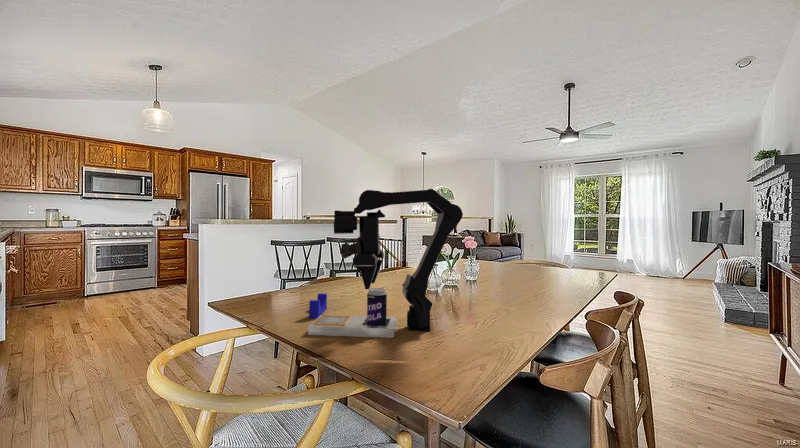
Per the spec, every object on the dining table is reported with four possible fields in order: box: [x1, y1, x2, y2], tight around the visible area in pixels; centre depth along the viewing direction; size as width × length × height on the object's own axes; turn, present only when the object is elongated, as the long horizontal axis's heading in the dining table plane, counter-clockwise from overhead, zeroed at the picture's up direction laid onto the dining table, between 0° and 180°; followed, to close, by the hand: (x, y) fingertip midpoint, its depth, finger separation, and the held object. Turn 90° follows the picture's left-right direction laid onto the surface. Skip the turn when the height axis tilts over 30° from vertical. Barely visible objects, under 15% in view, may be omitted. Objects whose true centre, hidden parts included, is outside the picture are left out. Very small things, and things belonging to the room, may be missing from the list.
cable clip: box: [308, 292, 328, 319], centre depth 119 cm, size 12×4×6 cm, turn 179°
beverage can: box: [366, 287, 388, 326], centre depth 101 cm, size 6×6×12 cm
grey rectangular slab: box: [307, 314, 398, 339], centre depth 102 cm, size 24×12×3 cm, turn 86°
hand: (370, 286), depth 102 cm, fingers open, 9 cm apart
